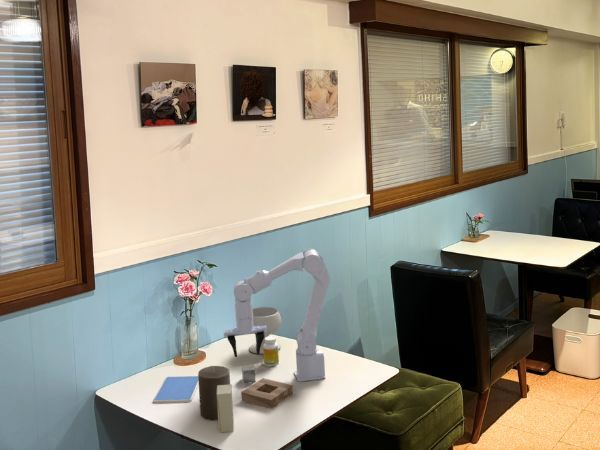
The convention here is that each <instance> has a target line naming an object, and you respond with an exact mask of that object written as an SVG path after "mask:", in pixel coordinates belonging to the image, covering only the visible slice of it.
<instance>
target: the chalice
mask: <svg viewBox="0 0 600 450" xmlns="http://www.w3.org/2000/svg"><path fill="white" fill-rule="evenodd" d="M252 312H253V326H266V327H267V333H264V335H265V336H264V339H263V341H262V344H261V347H260V354H259V355H264V353H263V345H264V344H265V338H266V337H269V336H271V334H274V333H276V332H277V331H278V330H279V329H280V328H281V326H282V317H281V313H280V311H279V310H278V309H277V308H274V307H270V306H269V307H268V306H262V307H261V306H260V307H259V306H258V307H255V308H252ZM277 344H278V351H280V349H281V345H280V344H279V343H277ZM248 350H249V352H250V353H254V354H257V352H256V343H254V344H252V345H250V346H249V347H248Z"/></svg>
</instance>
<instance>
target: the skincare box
mask: <svg viewBox="0 0 600 450" xmlns="http://www.w3.org/2000/svg"><path fill="white" fill-rule="evenodd" d="M232 386H233V385H232V383H230V385H217V408H218V420H217V425H218V432H219V433H229V432H234V427H235V426H234V425H235V424H234V404H233V387H232Z"/></svg>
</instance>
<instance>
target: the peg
mask: <svg viewBox="0 0 600 450" xmlns="http://www.w3.org/2000/svg"><path fill="white" fill-rule="evenodd" d="M255 369H256V368H255V366H254V364H250V365H243V366H241V375H242V376H241V378H242V383H243V384H250V383H256V382H257V381H256V370H255Z"/></svg>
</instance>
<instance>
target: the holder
mask: <svg viewBox="0 0 600 450" xmlns="http://www.w3.org/2000/svg"><path fill="white" fill-rule="evenodd" d="M292 395H294V385H293V384H291V383H286V382H281V381H279V380H278V381H277V380H273V379H270V378H263V377H262V378H261V379H259V380H258V381H256V382H253V384H251V385H250V386H249V387H246V388H245V389H244V390H242V391H241V392H240V396H241V402H245V403H249V404H252V405H256V406H259V407H264V408H267V409H271V410H272V409H275V408H276V407H277V406H278V405H280V404H282V403H283V402H284V401H285V400H287V399H289V397H291V396H292Z"/></svg>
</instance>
